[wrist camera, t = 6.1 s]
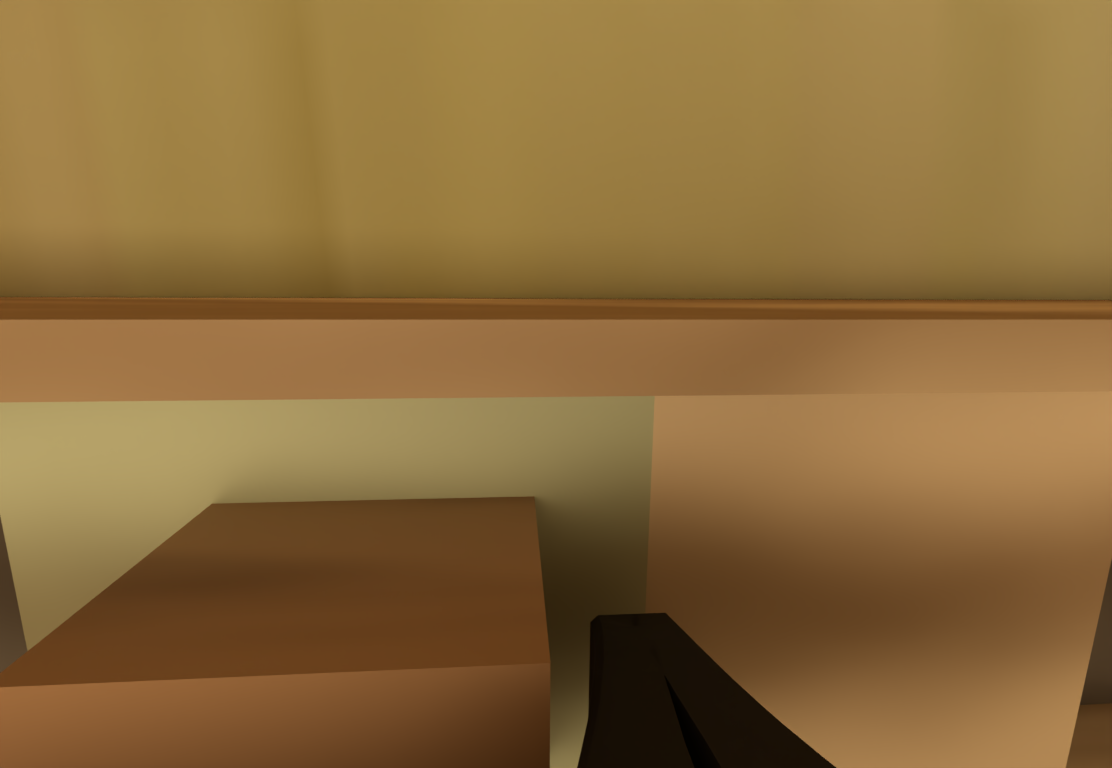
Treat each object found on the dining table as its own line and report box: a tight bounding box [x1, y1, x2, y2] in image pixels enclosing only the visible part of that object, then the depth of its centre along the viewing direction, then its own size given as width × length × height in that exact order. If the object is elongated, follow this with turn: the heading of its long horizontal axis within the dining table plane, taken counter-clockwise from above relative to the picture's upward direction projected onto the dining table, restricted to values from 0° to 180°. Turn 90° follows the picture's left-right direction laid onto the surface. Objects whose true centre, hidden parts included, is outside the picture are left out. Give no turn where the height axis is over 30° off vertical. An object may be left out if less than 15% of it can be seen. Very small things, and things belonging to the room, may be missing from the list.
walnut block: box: [0, 496, 550, 768], centre depth 8 cm, size 5×5×4 cm
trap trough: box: [0, 297, 1112, 768], centre depth 11 cm, size 11×36×4 cm, turn 90°
